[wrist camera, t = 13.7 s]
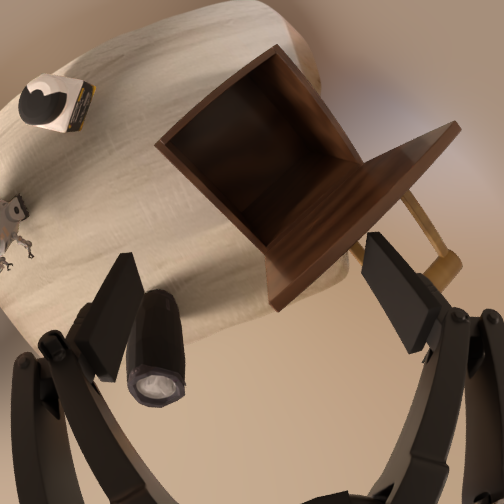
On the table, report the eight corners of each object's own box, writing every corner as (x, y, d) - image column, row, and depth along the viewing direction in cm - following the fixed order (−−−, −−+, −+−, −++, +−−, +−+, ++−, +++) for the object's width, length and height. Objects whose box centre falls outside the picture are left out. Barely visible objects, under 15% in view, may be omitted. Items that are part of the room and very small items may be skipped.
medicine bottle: (81, 131, 34) (49, 135, 23) (44, 122, 31) (5, 125, 20) (97, 86, 31) (70, 74, 21) (59, 79, 29) (24, 67, 18)
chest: (161, 139, 38) (153, 145, 25) (245, 67, 36) (277, 43, 23) (239, 217, 46) (265, 255, 34) (313, 150, 44) (364, 164, 32)
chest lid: (268, 303, 15) (359, 395, 16) (455, 119, 13) (513, 224, 14) (264, 255, 33) (313, 308, 34) (364, 162, 31) (407, 217, 32)
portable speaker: (156, 332, 51) (157, 417, 34) (122, 300, 47) (108, 385, 30) (190, 311, 51) (203, 395, 34) (158, 275, 47) (154, 359, 30)
